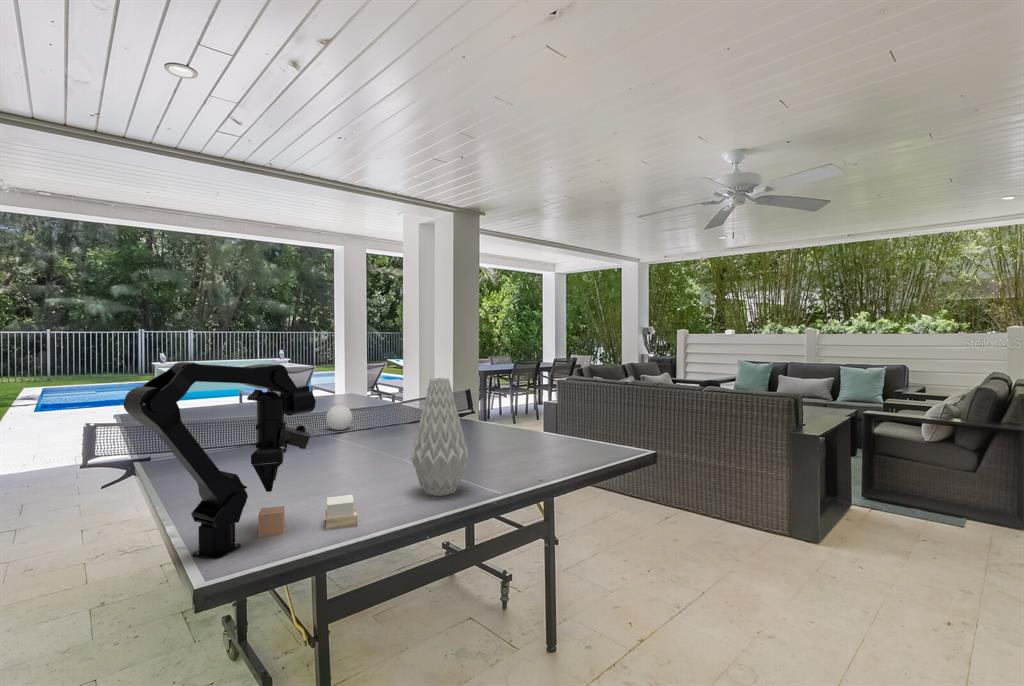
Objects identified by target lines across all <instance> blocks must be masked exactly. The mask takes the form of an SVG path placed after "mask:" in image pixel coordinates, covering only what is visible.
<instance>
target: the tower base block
mask: <svg viewBox="0 0 1024 686" xmlns="http://www.w3.org/2000/svg"><path fill="white" fill-rule="evenodd" d="M356 507H357V506H356V505H354V515H348V516H339V517H331V518H327V508H326V509H325V531H329V530H337V529H344V528H346V529H347V528H352V527H353V528H354V527H358V512H357V508H356Z"/></svg>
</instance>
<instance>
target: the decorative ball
mask: <svg viewBox="0 0 1024 686" xmlns="http://www.w3.org/2000/svg"><path fill="white" fill-rule="evenodd" d="M352 422H353V413H352V410H351V409H350V408H349V407H348V406H346V405H339V404H338V405H335V406H332V407H330V408H329V410H328V411H327V413H326V423H327V425H328V426H329V427H330V428H331V429H332V430H336V431H343V430H345V429H348V428H349V427H350V425H351V424H352Z"/></svg>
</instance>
